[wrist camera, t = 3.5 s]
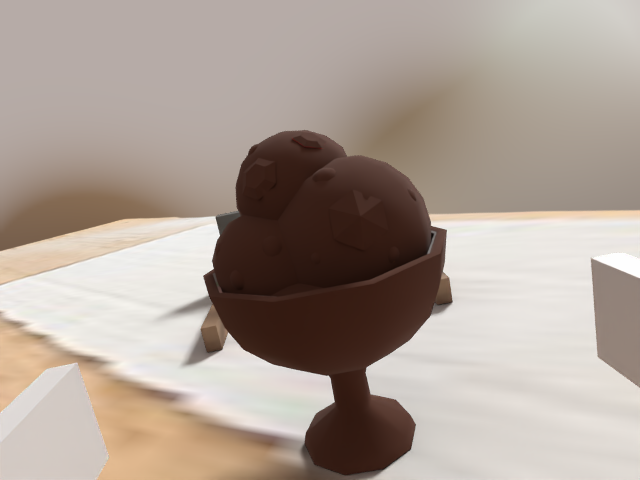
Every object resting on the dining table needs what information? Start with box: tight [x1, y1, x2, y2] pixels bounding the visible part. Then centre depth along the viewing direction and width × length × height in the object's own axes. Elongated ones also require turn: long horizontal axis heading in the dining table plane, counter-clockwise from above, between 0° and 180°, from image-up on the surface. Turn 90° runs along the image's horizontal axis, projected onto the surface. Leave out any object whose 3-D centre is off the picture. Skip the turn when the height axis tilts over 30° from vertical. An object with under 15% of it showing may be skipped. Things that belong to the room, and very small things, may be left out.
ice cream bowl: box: [203, 130, 447, 475], centre depth 22 cm, size 11×11×15 cm
